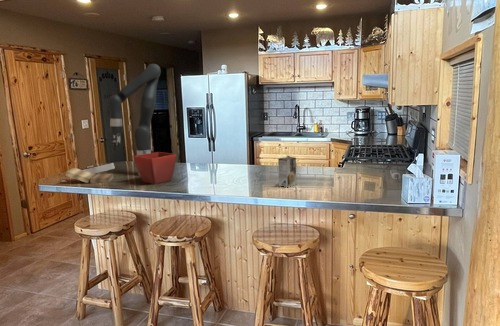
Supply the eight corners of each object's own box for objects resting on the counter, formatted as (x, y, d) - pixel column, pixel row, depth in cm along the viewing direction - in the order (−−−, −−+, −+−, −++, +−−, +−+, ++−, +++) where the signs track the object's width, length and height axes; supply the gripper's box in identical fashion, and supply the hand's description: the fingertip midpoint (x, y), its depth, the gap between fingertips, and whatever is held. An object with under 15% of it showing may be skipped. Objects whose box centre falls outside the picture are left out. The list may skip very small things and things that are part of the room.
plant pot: (152, 186, 216) (150, 158, 213) (134, 182, 228) (132, 155, 225) (178, 180, 230) (177, 154, 227) (160, 177, 242) (158, 151, 239)
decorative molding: (69, 180, 252) (79, 177, 248) (67, 174, 251) (77, 171, 247) (105, 171, 283) (115, 168, 279) (103, 165, 283) (113, 162, 279)
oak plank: (93, 178, 241) (95, 174, 241) (87, 183, 227) (89, 178, 227) (72, 171, 238) (73, 167, 238) (64, 175, 225) (66, 171, 224)
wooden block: (113, 177, 243) (113, 173, 242) (108, 182, 229) (108, 177, 229) (96, 178, 241) (95, 174, 241) (90, 183, 228) (89, 178, 227)
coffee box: (287, 183, 214) (286, 156, 212) (296, 184, 210) (296, 157, 207) (278, 186, 207) (277, 158, 205) (287, 187, 203) (287, 159, 201)
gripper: (120, 126, 236) (120, 151, 238) (124, 124, 249) (124, 148, 252) (107, 126, 234) (108, 151, 237) (112, 124, 248) (113, 148, 251)
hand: (116, 149), depth 244 cm, fingers open, 8 cm apart
